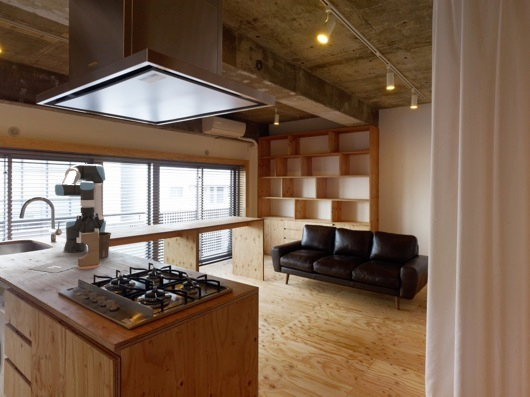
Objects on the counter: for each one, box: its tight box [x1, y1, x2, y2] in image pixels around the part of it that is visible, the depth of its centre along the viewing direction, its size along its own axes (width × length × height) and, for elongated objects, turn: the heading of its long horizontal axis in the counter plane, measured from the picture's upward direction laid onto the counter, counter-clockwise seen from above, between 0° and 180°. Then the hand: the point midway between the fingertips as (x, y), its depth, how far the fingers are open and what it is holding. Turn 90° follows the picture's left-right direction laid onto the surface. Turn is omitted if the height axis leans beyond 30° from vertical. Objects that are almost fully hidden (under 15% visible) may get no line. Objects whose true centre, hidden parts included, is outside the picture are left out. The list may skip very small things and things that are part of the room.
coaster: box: [75, 262, 101, 270], centre depth 205 cm, size 13×13×1 cm
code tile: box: [29, 262, 78, 274], centre depth 200 cm, size 16×22×1 cm
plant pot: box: [99, 231, 112, 259], centre depth 228 cm, size 16×16×16 cm
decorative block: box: [77, 232, 100, 267], centre depth 205 cm, size 11×6×20 cm, turn 125°
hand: (88, 240), depth 204 cm, fingers open, 13 cm apart
